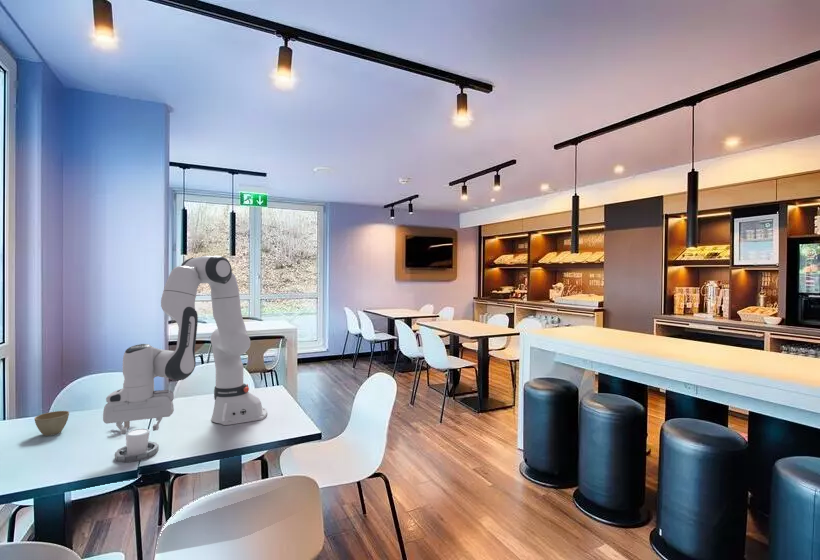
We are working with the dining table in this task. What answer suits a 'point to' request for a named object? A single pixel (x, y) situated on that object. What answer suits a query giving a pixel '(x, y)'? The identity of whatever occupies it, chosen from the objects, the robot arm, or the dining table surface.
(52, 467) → the dining table surface
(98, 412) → the dining table surface
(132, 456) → the bowl
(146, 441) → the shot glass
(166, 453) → the dining table surface
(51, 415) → the tan bowl
